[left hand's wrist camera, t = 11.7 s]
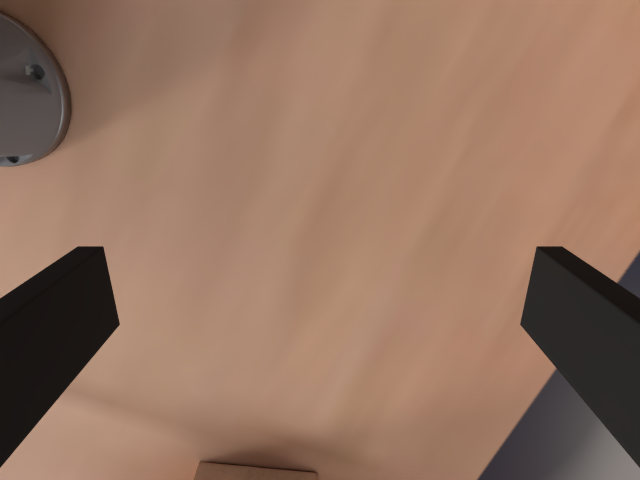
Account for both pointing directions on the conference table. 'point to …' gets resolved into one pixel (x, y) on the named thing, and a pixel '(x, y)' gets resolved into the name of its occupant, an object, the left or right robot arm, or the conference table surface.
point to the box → (248, 473)
